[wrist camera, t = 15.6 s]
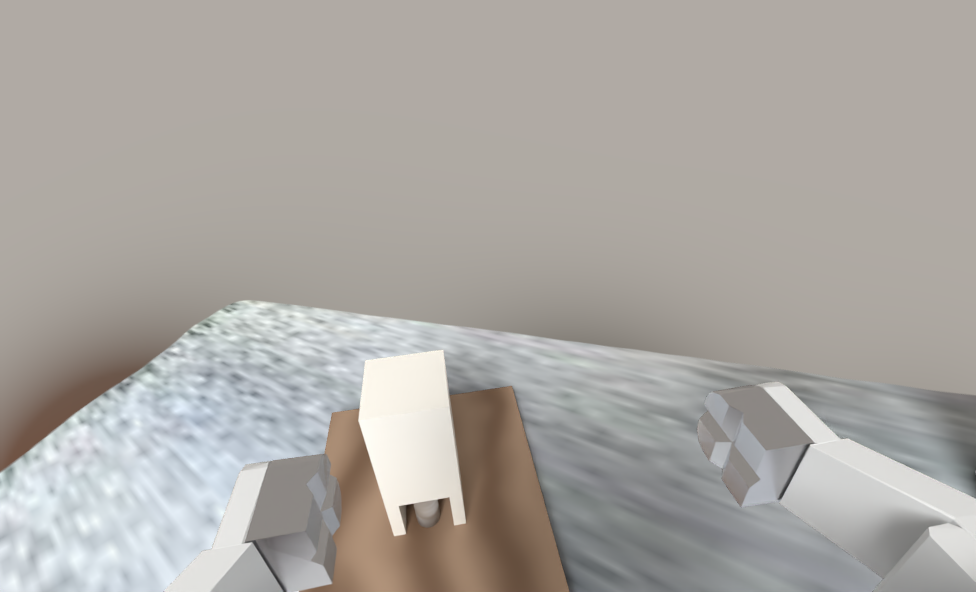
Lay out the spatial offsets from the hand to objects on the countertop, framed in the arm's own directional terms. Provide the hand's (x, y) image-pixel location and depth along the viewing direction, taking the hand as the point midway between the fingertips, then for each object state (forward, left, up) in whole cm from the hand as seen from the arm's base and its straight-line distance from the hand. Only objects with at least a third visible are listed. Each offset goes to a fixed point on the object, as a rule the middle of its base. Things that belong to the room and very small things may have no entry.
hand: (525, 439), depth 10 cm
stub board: (+5, -18, -30) cm, 35 cm away
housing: (+5, -18, -28) cm, 34 cm away
